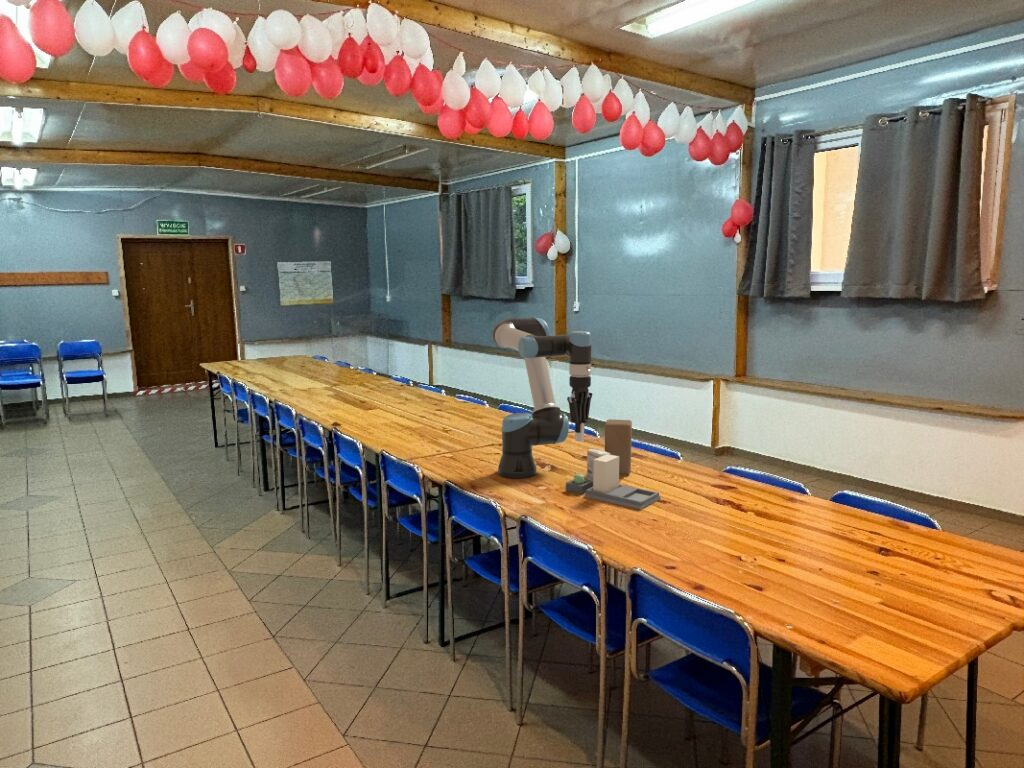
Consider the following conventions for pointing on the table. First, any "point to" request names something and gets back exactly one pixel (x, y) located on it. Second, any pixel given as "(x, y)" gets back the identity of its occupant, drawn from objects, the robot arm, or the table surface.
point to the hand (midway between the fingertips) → (579, 440)
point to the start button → (579, 479)
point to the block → (619, 442)
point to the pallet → (626, 496)
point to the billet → (606, 473)
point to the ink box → (591, 456)
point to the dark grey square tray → (578, 486)
